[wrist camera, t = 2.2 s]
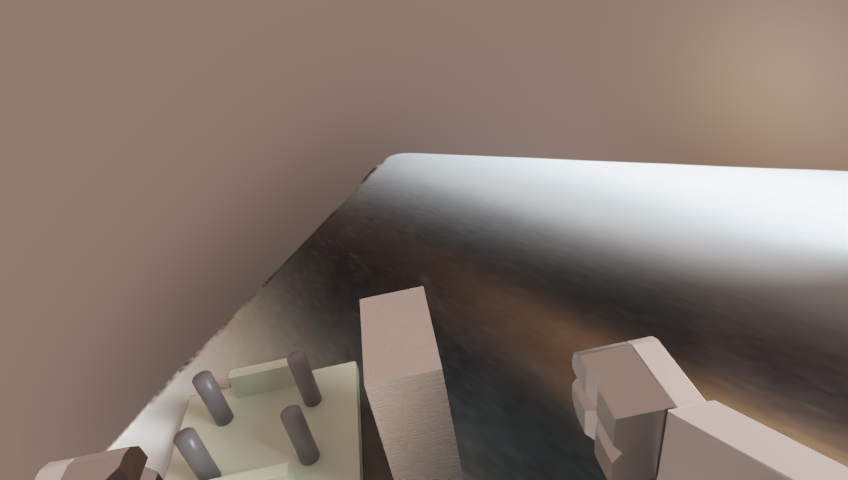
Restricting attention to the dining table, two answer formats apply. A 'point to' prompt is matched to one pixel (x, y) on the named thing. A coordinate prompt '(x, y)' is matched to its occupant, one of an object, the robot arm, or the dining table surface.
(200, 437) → the peg board
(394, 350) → the block
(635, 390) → the robot arm
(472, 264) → the dining table surface
